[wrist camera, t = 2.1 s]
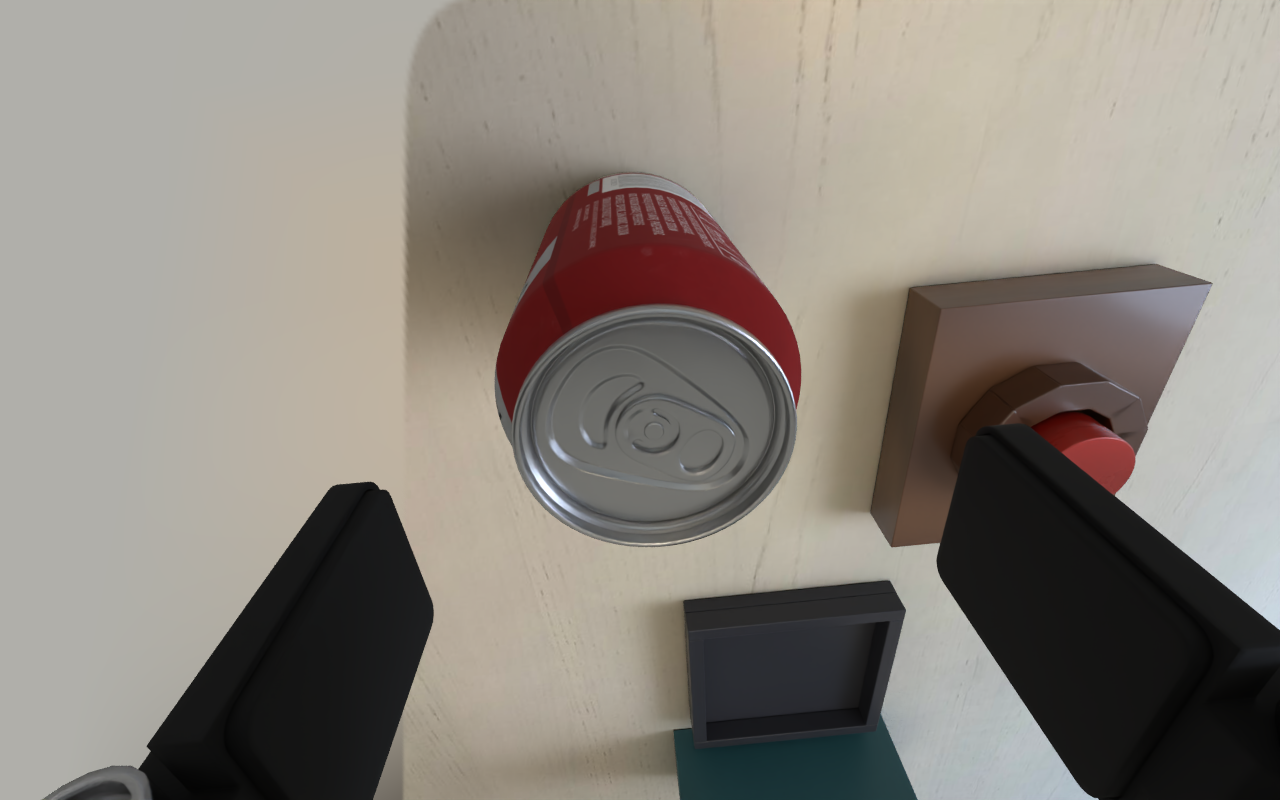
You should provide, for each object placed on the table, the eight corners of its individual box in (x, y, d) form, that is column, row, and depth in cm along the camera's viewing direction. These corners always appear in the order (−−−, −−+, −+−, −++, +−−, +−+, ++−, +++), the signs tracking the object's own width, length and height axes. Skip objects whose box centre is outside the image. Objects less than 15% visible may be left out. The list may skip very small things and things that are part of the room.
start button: (1019, 416, 21) (1051, 442, 20) (1112, 407, 21) (1151, 432, 20) (996, 489, 23) (1023, 518, 21) (1081, 481, 23) (1115, 509, 21)
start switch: (909, 287, 22) (965, 325, 19) (1157, 263, 22) (1259, 298, 19) (870, 513, 28) (907, 574, 25) (1064, 494, 28) (1128, 552, 25)
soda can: (590, 131, 19) (570, 194, 8) (754, 226, 20) (905, 376, 10) (514, 300, 21) (427, 506, 11) (664, 370, 23) (710, 602, 13)
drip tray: (683, 600, 31) (687, 631, 29) (889, 580, 31) (906, 610, 29) (690, 718, 37) (694, 750, 35) (863, 701, 37) (876, 732, 35)
